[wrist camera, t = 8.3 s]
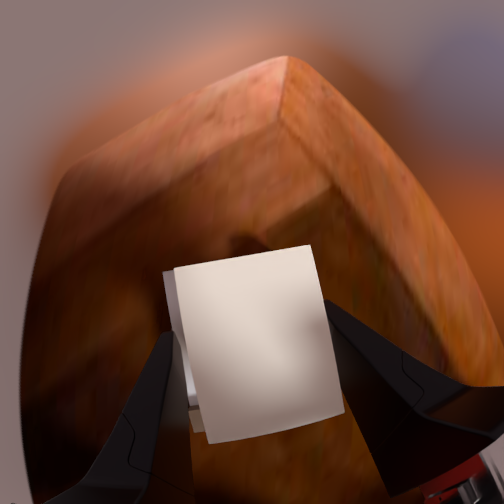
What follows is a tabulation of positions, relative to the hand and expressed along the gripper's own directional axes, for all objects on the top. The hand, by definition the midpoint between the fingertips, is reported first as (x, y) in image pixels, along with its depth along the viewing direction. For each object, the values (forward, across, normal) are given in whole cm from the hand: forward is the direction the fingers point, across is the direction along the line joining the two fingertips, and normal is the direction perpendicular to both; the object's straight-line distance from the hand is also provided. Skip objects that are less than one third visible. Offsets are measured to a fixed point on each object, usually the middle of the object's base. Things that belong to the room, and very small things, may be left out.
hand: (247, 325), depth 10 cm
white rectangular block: (+6, 0, +8) cm, 10 cm away
